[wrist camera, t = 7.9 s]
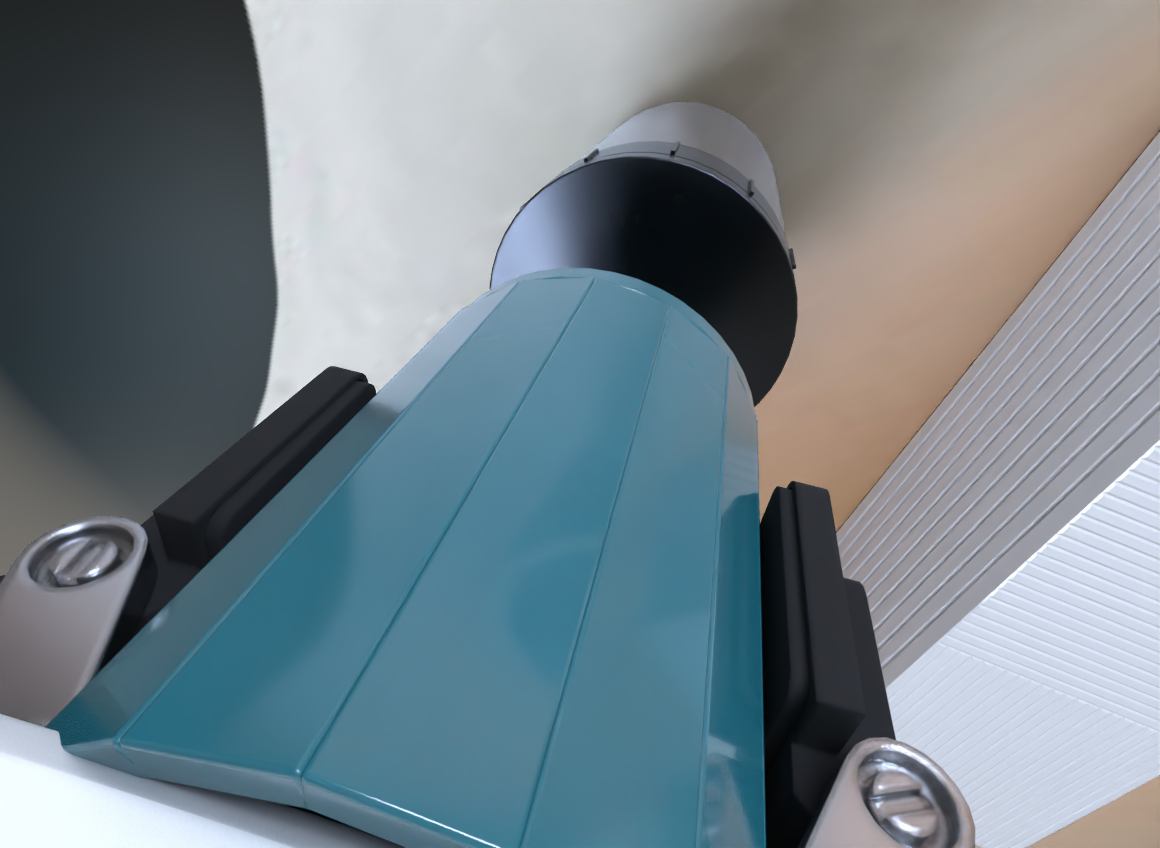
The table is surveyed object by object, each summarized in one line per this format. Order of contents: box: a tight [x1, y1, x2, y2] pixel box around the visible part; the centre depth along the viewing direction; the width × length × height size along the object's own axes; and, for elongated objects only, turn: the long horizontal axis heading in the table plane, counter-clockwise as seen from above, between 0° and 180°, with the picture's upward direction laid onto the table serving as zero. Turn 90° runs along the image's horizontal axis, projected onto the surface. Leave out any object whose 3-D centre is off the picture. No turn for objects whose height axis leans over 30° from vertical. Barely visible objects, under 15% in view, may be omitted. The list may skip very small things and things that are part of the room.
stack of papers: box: [836, 132, 1160, 848], centre depth 25 cm, size 32×11×11 cm, turn 162°
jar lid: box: [490, 141, 797, 407], centre depth 18 cm, size 8×8×2 cm
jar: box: [578, 102, 786, 237], centre depth 23 cm, size 8×8×12 cm
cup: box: [45, 268, 766, 848], centre depth 9 cm, size 7×7×9 cm
